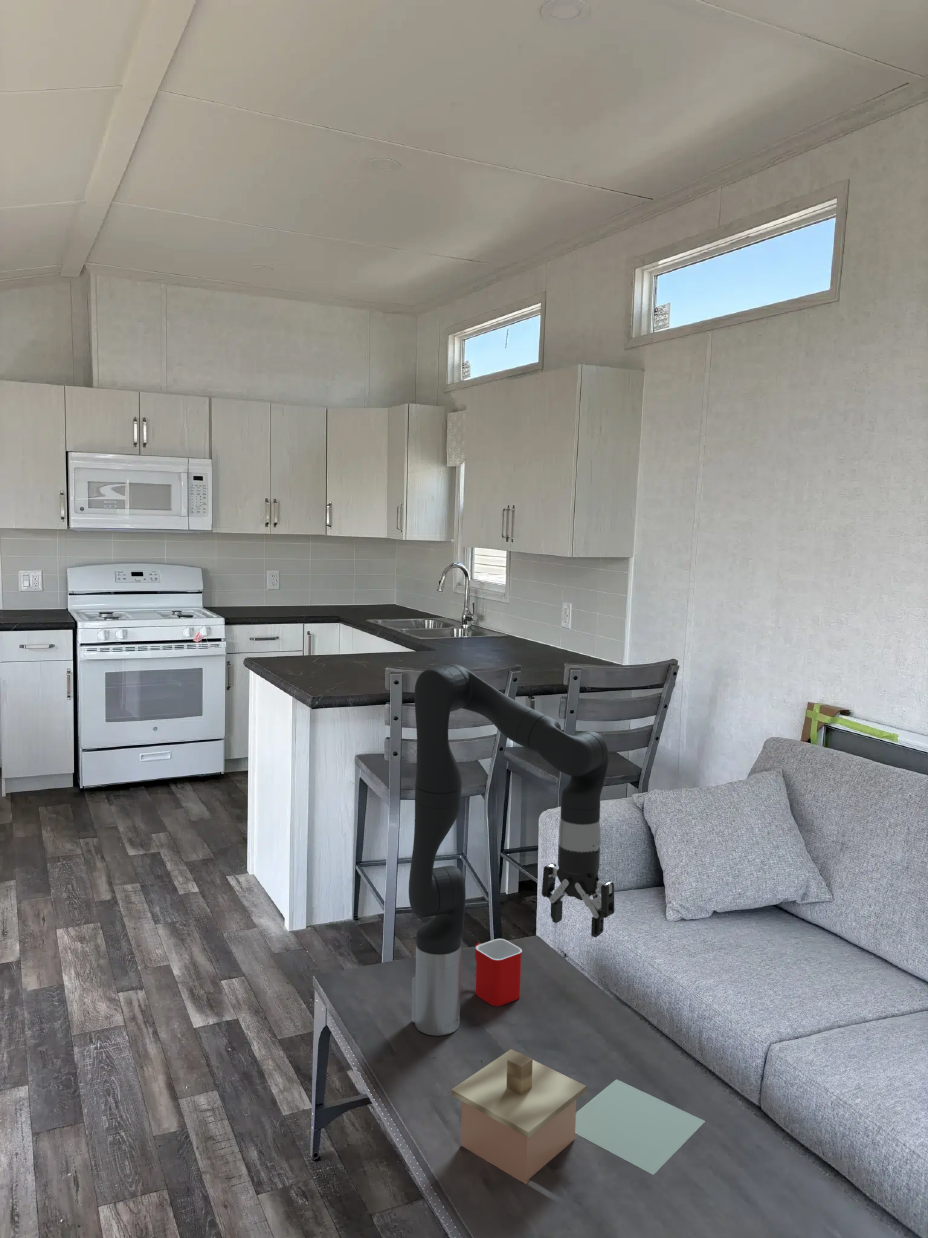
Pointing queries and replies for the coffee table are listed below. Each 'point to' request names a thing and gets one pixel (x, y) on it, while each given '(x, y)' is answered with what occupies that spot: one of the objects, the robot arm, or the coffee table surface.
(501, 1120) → the lid
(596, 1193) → the coffee table surface
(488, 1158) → the pink box
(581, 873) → the robot arm
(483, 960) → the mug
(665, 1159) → the mat
